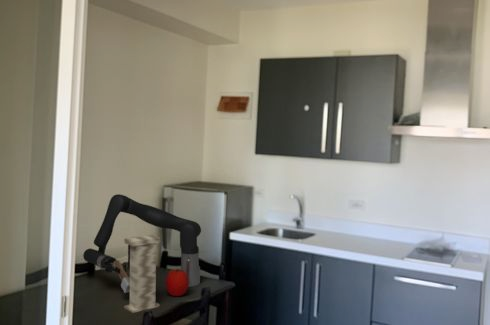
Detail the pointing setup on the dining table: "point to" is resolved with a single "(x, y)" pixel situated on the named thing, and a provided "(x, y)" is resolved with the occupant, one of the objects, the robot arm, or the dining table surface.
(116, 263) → the mallet
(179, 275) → the tomato
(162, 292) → the dining table surface
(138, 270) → the birch plinth
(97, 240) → the robot arm
